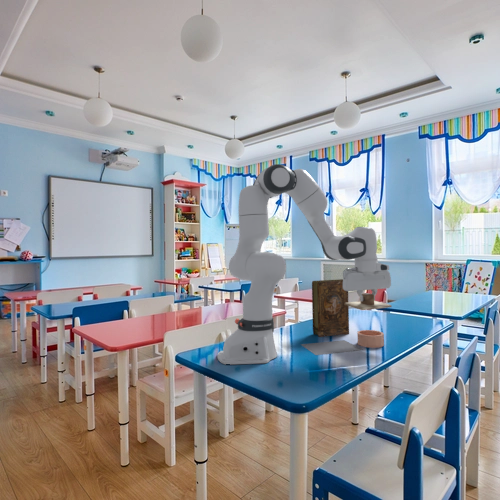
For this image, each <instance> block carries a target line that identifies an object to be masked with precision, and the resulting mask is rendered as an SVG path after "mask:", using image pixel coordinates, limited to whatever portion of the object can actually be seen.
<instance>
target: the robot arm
mask: <svg viewBox="0 0 500 500" xmlns="http://www.w3.org/2000/svg"><path fill="white" fill-rule="evenodd" d="M282 194H287V195H288V196H290V198H292V200H293V202H294V203H295V205H296V206H297V207H298V209H299V210H300V211H301V213H302V214H303V216H305V219H306V220H307V222H308V224H309V226H310V227H311V229H312V230H313V232H314V233H315V235H316V236H317V238H318V240H319V242H320V244H321V248H322V251H323V254H324V256H325V257H326V258H327V259H329V260H331V261H338V260H339V261H340V260H341V261H342V260H343V261H350V260H353V259H354V267H347V268H345V269H344V270H343V271H342V278H343V289H344V290H345V291H348V292H356V293H357V295H358V297H359V301H365V297H363V295H362V293H363V291H371V294H373V295H374V301H376V295H377V294H378V290H380V289H382V290H383V289H389V288H391V286H392V278H391V273H390V271H389V270H390V266H389V264H385V263H381V262H379V261H378V256H377V250H378V240H377V234H376V231H375V229H373V228H372V227H368V226H357V227H355V228H354V229H353V230H351V232H349V233H346V234H344V235H342V236H341V235H337V234H335V233H334V231H332V229H331V227H330V226H329V224H328V222H327V220H326V219H325V216H324V213H325V212H326V209H327V206H328V198H327V196H326V195H325V192H324V190H323V189H322V188H321V187H320V185H319V184H318V182H317V181H315V179H314V178H313V176H311V175H310V173H308V172H307V171H306V170H305V169H303V168H295V169H291V168H289V167H288V166H286V165H284V164H280V163H279V164H278V163H277V164H276V163H275V164H272V165H270V166H269V167H267V168H265V169H263V170H261V172H260V173H258V175H257V176H256V178H255V180H254V182H253V185H247V186H245V187H243V188H242V189H241V190H240V191H239V195H238V228H239V229H238V230H239V231H238V233H239V236H238V244H237V248H236V250H235V252H234V254H233V256H232V257H231V258H230V260H229V261H228V263H229V264H228V270H229V273H230V274H231V276H232V277H234V278H236V279H238V280H241V281H244V282H246V281H248V282H251V283H250V287H249V290H248V292H247V293H245V294H244V296H243V297H242V318H241V319H240V318H235V319H234V322H235V324H236V325H237V329H236V330H235V331H234V332H233V333H231V334H230V335H228V337H226V339H224V342H223V347H222V350H220V351H218V353H217V360H218V361H219V363H221V364H223V365H226V364H230V365H252V364H253V365H255V364H268V363H269V362H270V361H271V360H273V359H275V358H277V357H278V352H277V348H276V343H275V338H274V332H275V321H274V317H273V296H274V293H275V289H276V286H277V285H278V283H279V282H280V281H281V280H282V279H283V278H284V276H285V275H286V271H287V262H286V260H285V259H284V256H282V255H280V254H278V253H275V252H270V251H267V252H266V251H265V252H262V245H263V243H264V242H265V241H266V240H267V238H269V235H270V227H269V210H268V203H269V200H270V199H272V198H274V197H278V196H281V195H282Z"/></svg>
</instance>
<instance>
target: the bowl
mask: <svg viewBox="0 0 500 500" xmlns="http://www.w3.org/2000/svg"><path fill="white" fill-rule="evenodd" d="M356 333H357V345H358V346H359V347H360V346H361V347H364V348H373V349H375V348H377V349H378V348H382V347H384V346H385V333H384V332H382V331H380V330H375V329H374V330H373V329H362V330H361V329H360V330H359V331H357V332H356Z"/></svg>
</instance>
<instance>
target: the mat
mask: <svg viewBox="0 0 500 500" xmlns="http://www.w3.org/2000/svg"><path fill="white" fill-rule="evenodd" d="M300 346H301V347H303V348H305V349H306V350H308V351H310V352H311V353H312V354H313V355H315V356H320V355H329V354H330V355H332V354H338V353H339V354H341V353H350V352H351V353H352V352H360V351H364V349H363V348H361V347H360V346H357V345H355V344H353V343H351V342H349V341H347V340H333V341H323V342H312V343H303V344H301V343H300Z"/></svg>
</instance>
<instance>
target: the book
mask: <svg viewBox="0 0 500 500" xmlns="http://www.w3.org/2000/svg"><path fill="white" fill-rule="evenodd" d="M347 302H349V291H345V290H344V289H343V279H324V280H321V279H320V280H312V282H311V306H312V310H311V311H312V334H313V335H317V336H318V338H322V337H323V338H324V337H332V336H343V335H350V315H349V314H350V312H349V311H350V309H349V307H350V306H348V305H345V303H347Z"/></svg>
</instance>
